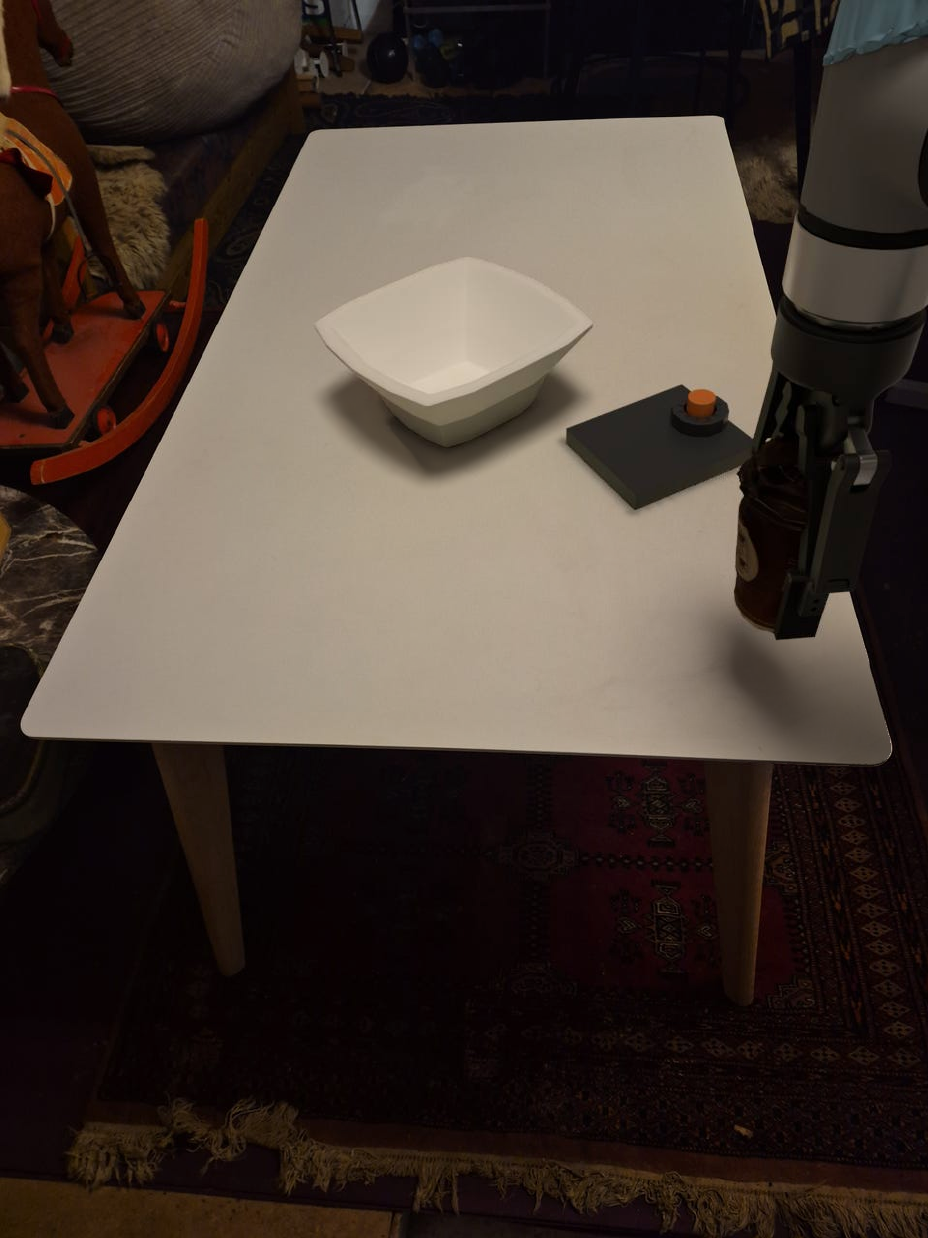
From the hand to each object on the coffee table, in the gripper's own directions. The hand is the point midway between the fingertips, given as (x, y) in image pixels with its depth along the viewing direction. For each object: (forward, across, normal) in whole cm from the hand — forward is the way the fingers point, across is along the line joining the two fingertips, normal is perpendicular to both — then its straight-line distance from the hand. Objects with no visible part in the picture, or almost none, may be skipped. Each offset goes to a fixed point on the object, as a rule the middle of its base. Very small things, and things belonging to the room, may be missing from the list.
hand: (777, 592), depth 63 cm
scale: (+9, +30, +2) cm, 32 cm away
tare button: (+6, +32, -2) cm, 33 cm away
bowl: (+9, +42, +23) cm, 49 cm away
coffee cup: (+1, 0, 0) cm, 1 cm away
